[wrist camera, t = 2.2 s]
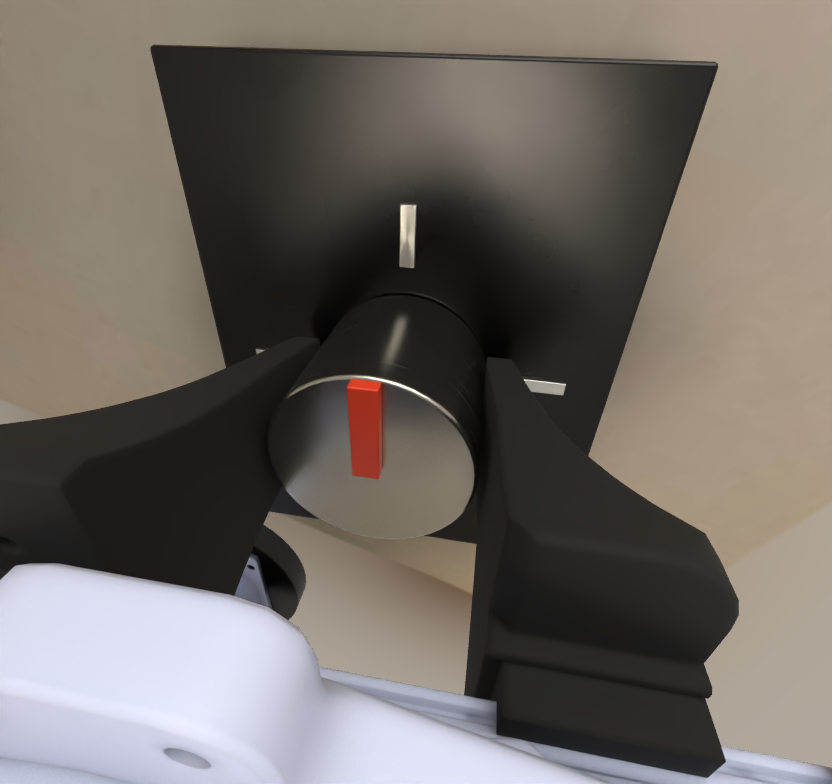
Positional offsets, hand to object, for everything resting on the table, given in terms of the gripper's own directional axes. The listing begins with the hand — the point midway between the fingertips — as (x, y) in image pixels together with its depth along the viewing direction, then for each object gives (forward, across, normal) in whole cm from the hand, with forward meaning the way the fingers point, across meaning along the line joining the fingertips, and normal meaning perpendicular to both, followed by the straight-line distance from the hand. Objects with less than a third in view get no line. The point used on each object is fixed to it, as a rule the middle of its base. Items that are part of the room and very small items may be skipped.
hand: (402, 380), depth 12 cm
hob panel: (+4, 0, 0) cm, 4 cm away
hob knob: (+1, 0, 0) cm, 1 cm away
